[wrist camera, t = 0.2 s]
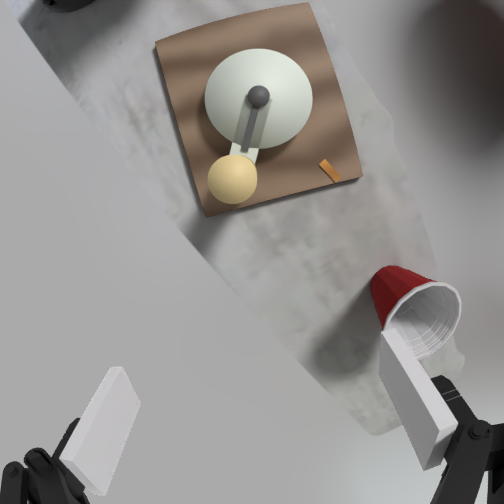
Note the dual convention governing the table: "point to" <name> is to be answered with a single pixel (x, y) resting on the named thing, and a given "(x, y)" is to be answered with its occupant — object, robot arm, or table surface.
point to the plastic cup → (416, 308)
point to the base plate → (275, 158)
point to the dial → (253, 114)
